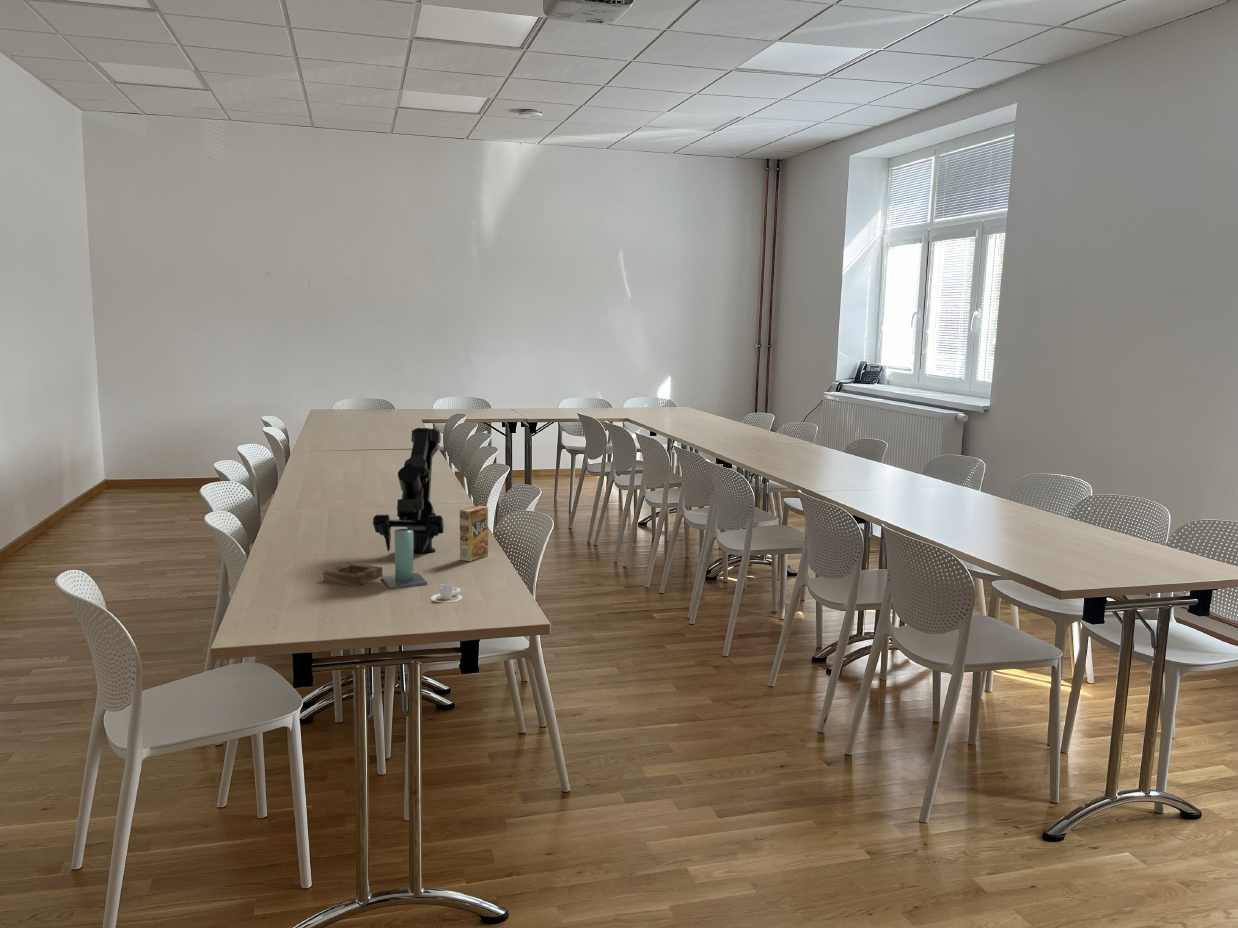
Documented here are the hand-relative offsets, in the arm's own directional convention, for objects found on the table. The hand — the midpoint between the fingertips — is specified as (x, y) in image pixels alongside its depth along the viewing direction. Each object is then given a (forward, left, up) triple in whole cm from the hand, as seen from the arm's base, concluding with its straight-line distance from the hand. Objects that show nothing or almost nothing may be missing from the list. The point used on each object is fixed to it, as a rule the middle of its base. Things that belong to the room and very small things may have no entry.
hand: (405, 550), depth 236 cm
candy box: (-15, +24, -8) cm, 30 cm away
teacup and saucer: (+21, +9, -9) cm, 25 cm away
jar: (+2, -1, -7) cm, 8 cm away
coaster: (+2, -1, -8) cm, 8 cm away
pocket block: (-6, -13, -8) cm, 16 cm away
